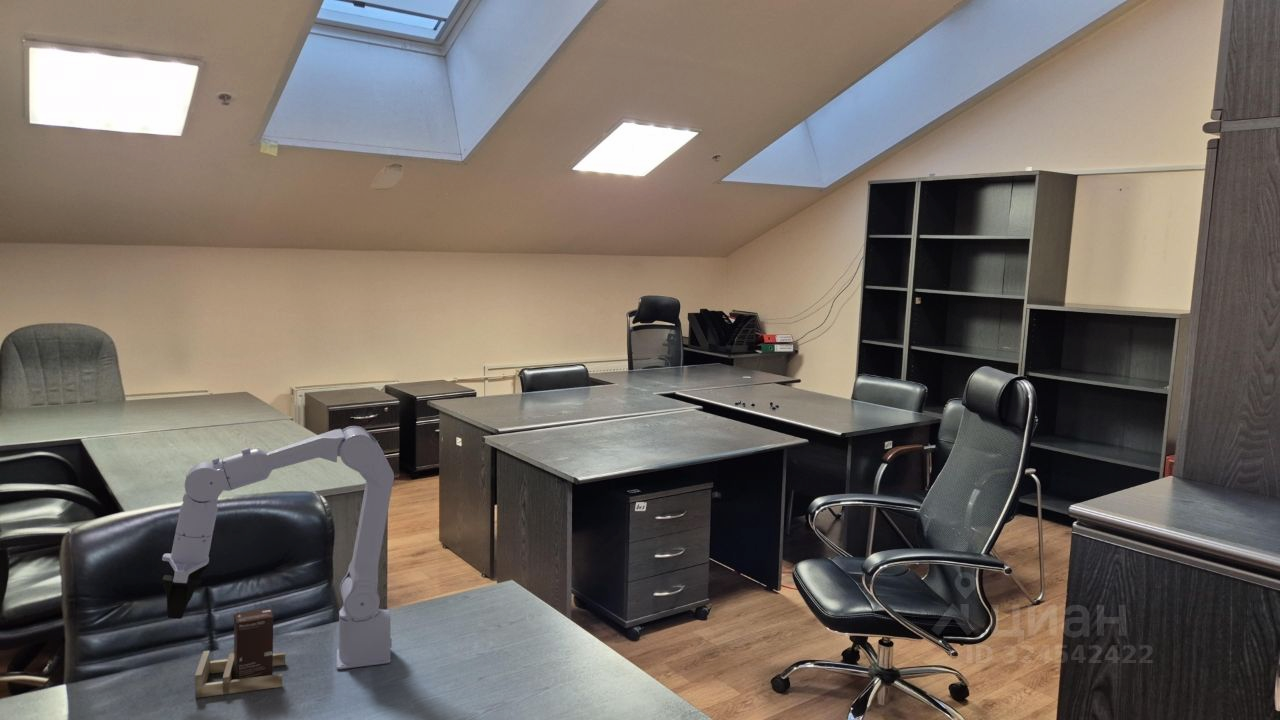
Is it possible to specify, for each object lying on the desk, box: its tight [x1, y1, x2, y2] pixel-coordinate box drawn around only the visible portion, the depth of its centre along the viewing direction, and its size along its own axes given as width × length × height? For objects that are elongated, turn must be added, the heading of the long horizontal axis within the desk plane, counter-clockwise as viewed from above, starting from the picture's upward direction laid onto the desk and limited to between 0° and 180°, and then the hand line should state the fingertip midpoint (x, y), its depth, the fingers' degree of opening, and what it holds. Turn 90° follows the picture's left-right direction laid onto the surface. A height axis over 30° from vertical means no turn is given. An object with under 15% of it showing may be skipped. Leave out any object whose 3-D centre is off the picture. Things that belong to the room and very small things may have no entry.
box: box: [233, 607, 274, 680], centre depth 144 cm, size 6×4×12 cm
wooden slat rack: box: [194, 650, 286, 699], centre depth 143 cm, size 14×9×4 cm
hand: (179, 609), depth 139 cm, fingers open, 7 cm apart
